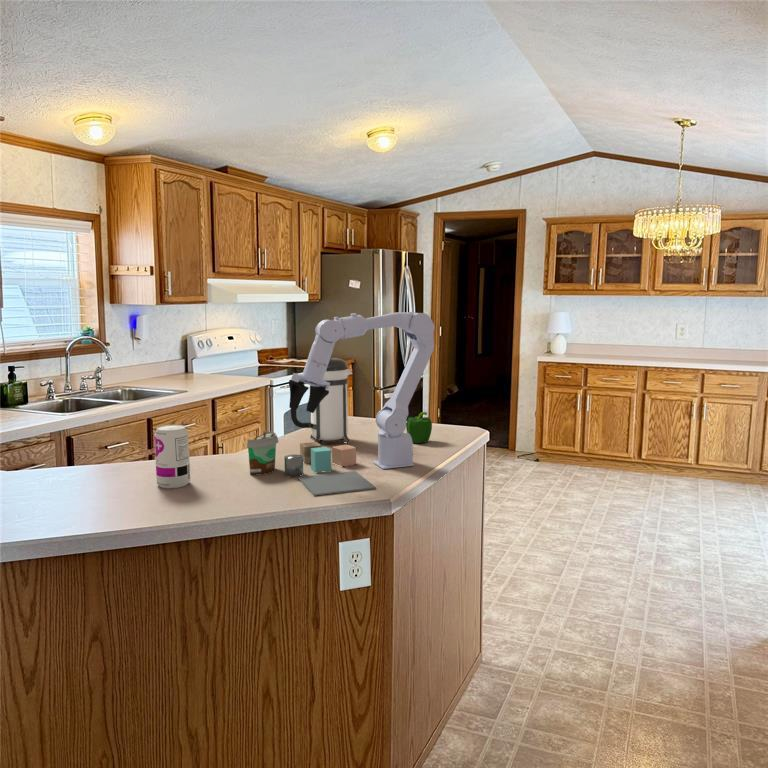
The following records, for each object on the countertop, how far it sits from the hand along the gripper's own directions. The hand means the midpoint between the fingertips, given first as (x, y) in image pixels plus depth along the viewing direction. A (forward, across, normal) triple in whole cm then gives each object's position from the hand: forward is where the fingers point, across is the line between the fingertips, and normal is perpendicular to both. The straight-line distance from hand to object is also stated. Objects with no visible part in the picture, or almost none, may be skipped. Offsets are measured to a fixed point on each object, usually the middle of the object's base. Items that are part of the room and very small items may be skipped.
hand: (301, 410), depth 180 cm
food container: (+20, -1, -5) cm, 20 cm away
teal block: (+15, -9, +6) cm, 18 cm away
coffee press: (+12, -37, -14) cm, 41 cm away
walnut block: (+15, -16, -2) cm, 22 cm away
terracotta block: (+12, -17, +8) cm, 22 cm away
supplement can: (+28, +20, -16) cm, 38 cm away
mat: (+14, -1, +18) cm, 23 cm away
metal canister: (+17, -2, +3) cm, 18 cm away
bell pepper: (+2, -51, +11) cm, 52 cm away
